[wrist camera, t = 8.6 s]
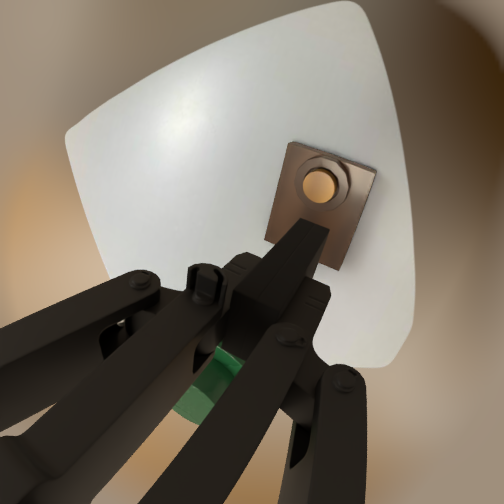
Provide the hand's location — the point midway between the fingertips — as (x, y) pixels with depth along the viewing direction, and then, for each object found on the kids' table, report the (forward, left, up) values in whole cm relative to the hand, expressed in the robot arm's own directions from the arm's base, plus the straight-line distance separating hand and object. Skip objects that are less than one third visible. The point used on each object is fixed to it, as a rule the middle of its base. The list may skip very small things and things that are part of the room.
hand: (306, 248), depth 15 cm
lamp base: (+4, +8, -28) cm, 30 cm away
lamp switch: (+4, +4, -25) cm, 25 cm away
